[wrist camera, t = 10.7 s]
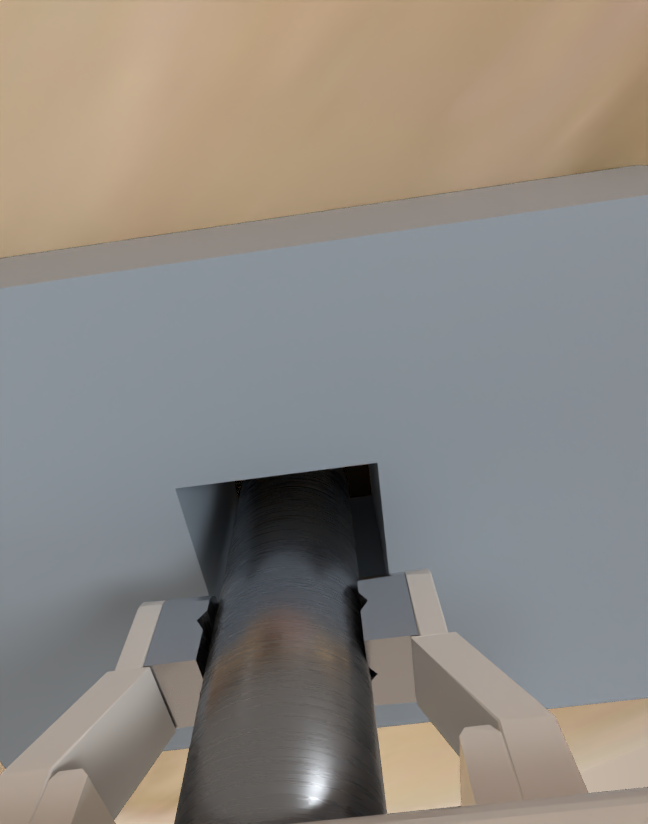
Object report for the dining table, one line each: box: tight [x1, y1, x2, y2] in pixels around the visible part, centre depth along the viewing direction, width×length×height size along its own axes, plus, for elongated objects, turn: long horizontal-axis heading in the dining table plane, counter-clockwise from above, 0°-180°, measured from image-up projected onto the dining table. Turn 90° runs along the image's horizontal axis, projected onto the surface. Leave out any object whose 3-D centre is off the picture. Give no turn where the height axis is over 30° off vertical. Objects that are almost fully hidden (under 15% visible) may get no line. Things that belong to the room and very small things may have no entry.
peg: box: [174, 467, 387, 824], centre depth 10 cm, size 3×3×10 cm
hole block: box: [0, 165, 648, 768], centre depth 15 cm, size 20×14×5 cm
